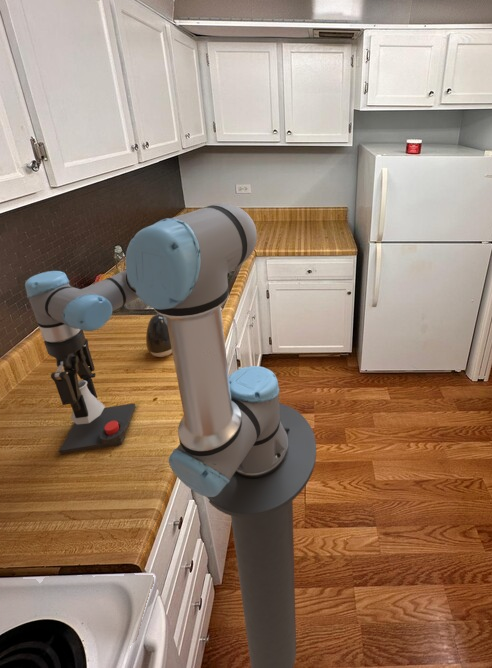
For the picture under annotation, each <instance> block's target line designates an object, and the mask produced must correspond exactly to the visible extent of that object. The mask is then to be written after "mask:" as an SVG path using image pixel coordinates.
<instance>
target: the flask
mask: <svg viewBox="0 0 492 668" xmlns="http://www.w3.org/2000/svg"><path fill="white" fill-rule="evenodd" d="M87 383H88V382H87V381H85V380H83V379H80V380H79V379H78V384H79V391H80V395H83V398H84V401H85V404H86V407H87V410H88V417H81V418H75V415H74V412H73V411H72V412H71V417H70V421H72V423H73V424H74V423H76V424H86V423H90V422H91V421H93V420H94V419H96V418H97V417H98V416H100V415H101V413H102V411H103V409H104V408H106V405H105V404H104V403H103V402H101V401H100V400H99V399H98V397H97V398H95V397H94V396H93V395H92V394H91V392H90V391H89V389H88V387H87Z"/></svg>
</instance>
